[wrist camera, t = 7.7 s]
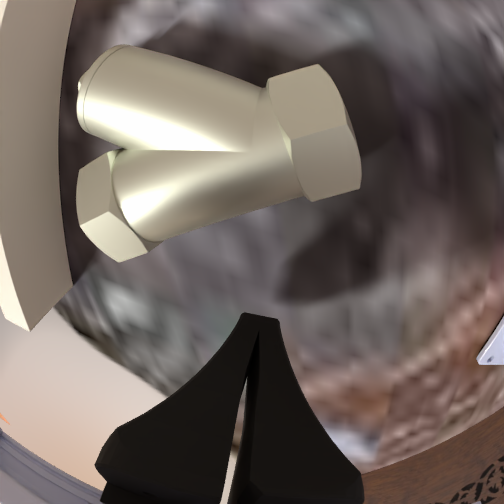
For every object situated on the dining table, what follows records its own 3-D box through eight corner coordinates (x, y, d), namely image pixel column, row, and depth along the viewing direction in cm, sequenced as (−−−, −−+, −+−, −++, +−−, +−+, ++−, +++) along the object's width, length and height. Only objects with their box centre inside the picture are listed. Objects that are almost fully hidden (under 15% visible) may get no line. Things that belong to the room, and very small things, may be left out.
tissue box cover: (373, 499, 27) (373, 557, 18) (319, 483, 23) (314, 563, 15) (542, 414, 17) (563, 473, 8) (551, 366, 13) (589, 449, 4)
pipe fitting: (99, 90, 10) (152, 234, 12) (32, 86, 6) (99, 276, 8) (282, 4, 8) (347, 172, 10) (272, -51, 4) (373, 195, 6)
